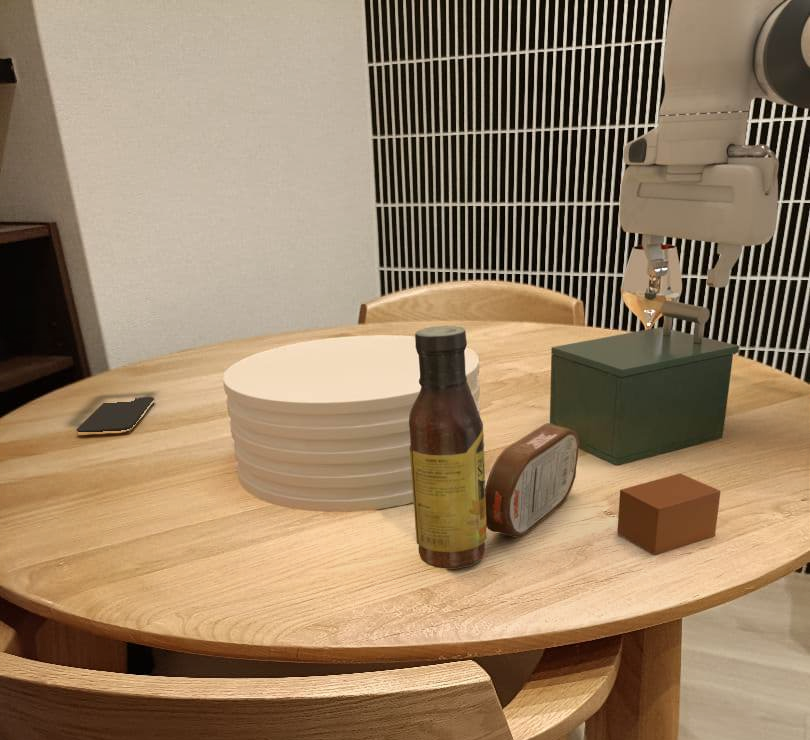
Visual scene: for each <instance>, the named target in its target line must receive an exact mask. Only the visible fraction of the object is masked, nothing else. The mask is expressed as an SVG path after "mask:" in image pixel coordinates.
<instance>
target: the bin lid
mask: <svg viewBox="0 0 810 740" xmlns="http://www.w3.org/2000/svg"><path fill="white" fill-rule="evenodd" d="M660 310H661V314H662V317H663V327H662V326H659V327H653V328H651V329H648V330H645V329H642V330H637V331H633V332H627V333H621V334H616V335H611V336H605V337H600V338H595V339H589V340H584V341H579V342H572V343H568V344H561V345H557V346H552V347H551V352H550V355H552V354H553V355H556V356H559V357H562V358H565V359H568V360H571V361H574V362H577V363H580V364H584V365H587V366H590V367H593V368H596V369H599V370H602V371H605V372H608V373H611V374H614V375H617V376H620V377H625V376H630V375H635V374H639V373H644V372H649V371H654V370H658V369H663V368H668V367H673V366H678V365H682V364H687V363H692V362H697V361H701V360H706V359H711V358H716V357H720V356H725V355H730V354H733V355H735V354H739V352H740V345H738V344H735V343H734V344H733V343H730V342H725V341H721V340H717V339H712V338H709V337H705V336H704V326H705V324H706V323H707V322H708V320H709V318H710V314H711V313H710V309H709V308H707V307H705V306H699V305H694V304H689V303H684V302H679V301H677V302H675V301H670V300H667V301H665V302H663V304H662V305H661V309H660ZM673 319H676V320H680V321H681V320H682V321H686V322H690V323H694V331H693V332H694V333H693V334H691V333H687V332H683V331H678V330H675V329H672V328H673Z"/></svg>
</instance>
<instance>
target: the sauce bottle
mask: <svg viewBox="0 0 810 740" xmlns="http://www.w3.org/2000/svg"><path fill="white" fill-rule="evenodd" d="M466 332H467V331H466V329H465V328H464V327H461V326H454V325H437V326H429V327H424V328H422V329H419V330H416V331H415V334H414V336H415V343H416V350H417V353H418V355H419V368H420V379H419V384H420V385H421V390H420V393H419V395H418V397H417V399H416V400H415V403H414V404H413V407H412V409H411V411H410V415H409V428H410V443H411V445H410V461H411V475H412V488H413V501H414V503H413V511H414V512H413V513H414V525H415V540H416V541H415V542H416V544H417V545H418V554H419V558H420V559H421V561H422V562H424V563H425V564H426V565H427V566H428V565H429V566H431V567H434V568H437V569H446V570H454V569H460V568H461V569H462V568H467V567H471V566H473V565H475V564H477V563H478V562H480V561H481V560H482V559H483V558H484V555H485V551H486V540H487V535H488V533H487V530H488V528H487V526H486V498H485V493H486V492H485V488H486V463H485V462H486V461H485V443H484V442H485V441H484V436H485V435H484V423H483V420H482V418H481V414H480V415H479V412H478V410H477V407H476V404H475V402H474V399H473V396H472V394H471V391H470V388H469V386H468V383H467V377H466V373H465V354H464V352H465V349H466V347H468V346H467V345H468V342H467V341H468V340H467V333H466Z"/></svg>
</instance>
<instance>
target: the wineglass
mask: <svg viewBox="0 0 810 740" xmlns="http://www.w3.org/2000/svg"><path fill="white" fill-rule="evenodd" d="M660 244H661V249H662V253H663V258H664V259H666V260H668V266H667V274H666V275H665V276H660V277H656V276H650V275H648V274H647V266H648V260H647V257H646V255H645V252H644V249H643V246H642V244H640V245H636V246H633V247H632V248H631V251H630V255H629V258H628V261H627V263H626V267H625V270H624V274H623V277H622V281H621V286H620V293H621V294H620V295H621V299H622V300H623V303H624V304H625V306H626V307H627V308H628V309H629V310H630V312H631V313H633V314H634V315H635V316H636V317H637V318H638V319H639V320H640V322H641V323H642V324H643V326H644V330H648V329H653V328H652V327H653V326H654V324H655V323H656V322H657V321H658V320H659V319H660V318H662V317H663V315H662V314H661V310H660V309H661V305H662V304H663V302H665V301H667V300H670V301H675V302H679V299H680V297H681V295H682V292H683V279H682V271H681V265H680V259H679V254H678V249H677V248H678V247H677V246H676V245H674V244H664V243H660Z"/></svg>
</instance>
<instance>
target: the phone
mask: <svg viewBox="0 0 810 740" xmlns="http://www.w3.org/2000/svg"><path fill="white" fill-rule="evenodd" d="M134 398H135V400H134V401H131V402H117V403H104V402H103V403H102V404H100V405H99V407H98V408H97V409H95V410H94V411H93V412H92V413H91V414H90V415H89V416H88V418H86V419H85V420H84V421H83V422H82V423H81V424H80V425H79V426H78V427H77V428H76V432H77V431H78V432H103V431H121V430H127V429H130V428H132V427H133V425H135V424H136V422H137V421H138V420H139V418H140V417H141V415H142V414H143V413H144V411H145V410H146V409H147V407H148V406H149V405H150V403H151V402H152V401H153V400H154V401H155V397H153V396H143V397H142V396H141V397H134ZM137 398H138V399H137Z"/></svg>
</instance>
